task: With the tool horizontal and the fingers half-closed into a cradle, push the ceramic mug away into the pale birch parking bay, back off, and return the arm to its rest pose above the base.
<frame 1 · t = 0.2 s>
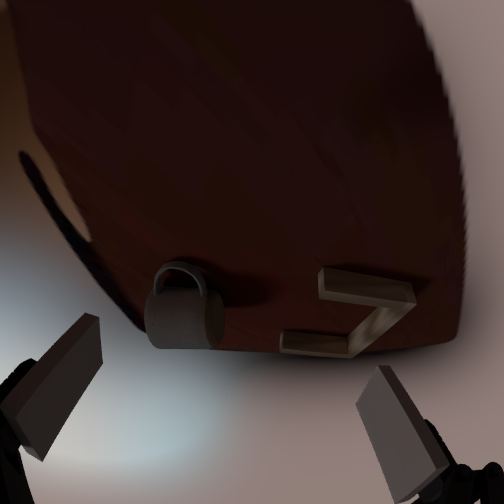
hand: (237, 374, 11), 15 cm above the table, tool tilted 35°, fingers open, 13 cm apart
bay: (340, 312, 35), on the table
ceramic mug: (187, 285, 34), on the table
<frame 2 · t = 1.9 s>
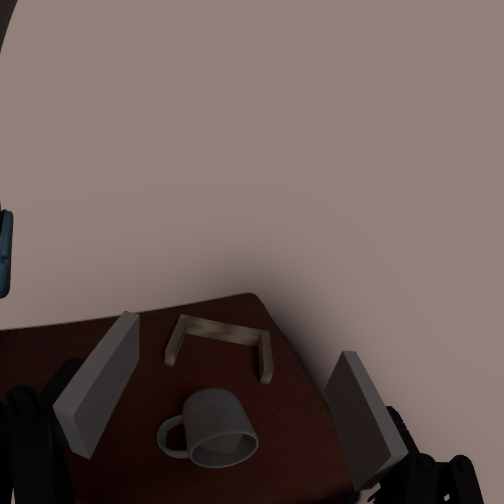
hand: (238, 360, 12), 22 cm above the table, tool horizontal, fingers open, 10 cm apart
bay: (219, 354, 47), on the table
ceramic mug: (202, 446, 27), on the table
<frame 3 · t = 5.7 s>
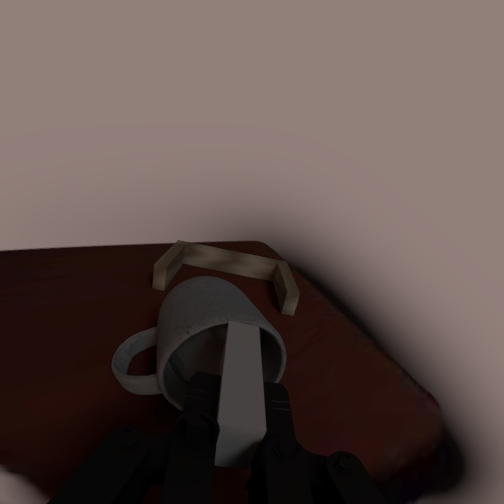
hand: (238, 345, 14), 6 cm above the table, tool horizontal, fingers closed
bay: (225, 283, 38), on the table
ceramic mug: (187, 383, 18), on the table, touching gripper
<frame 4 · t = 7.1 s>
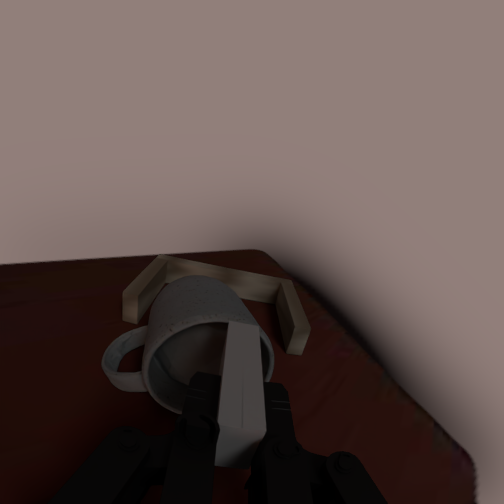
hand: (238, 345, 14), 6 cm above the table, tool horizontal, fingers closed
bay: (216, 310, 30), on the table
ceramic mug: (177, 382, 18), on the table, touching gripper
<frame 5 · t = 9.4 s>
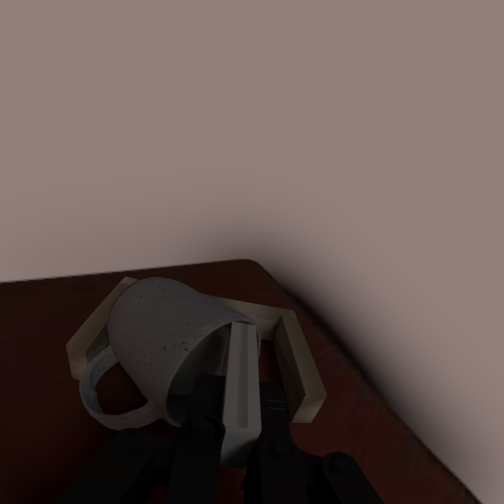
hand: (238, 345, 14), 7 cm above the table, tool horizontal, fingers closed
bay: (197, 357, 21), on the table
ceramic mug: (160, 396, 16), on the table, touching bay, gripper
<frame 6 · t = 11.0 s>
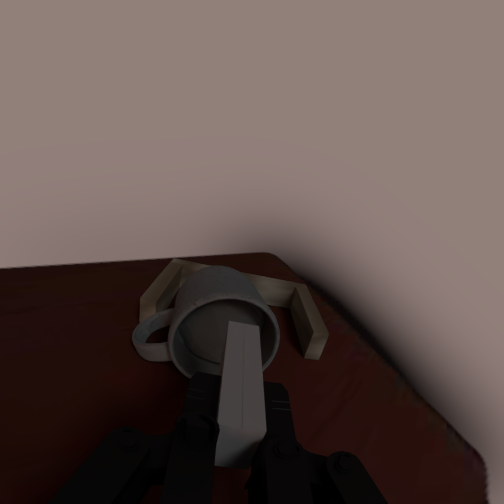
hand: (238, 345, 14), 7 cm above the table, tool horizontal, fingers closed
bay: (233, 315, 30), on the table
ceramic mug: (197, 358, 22), on the table
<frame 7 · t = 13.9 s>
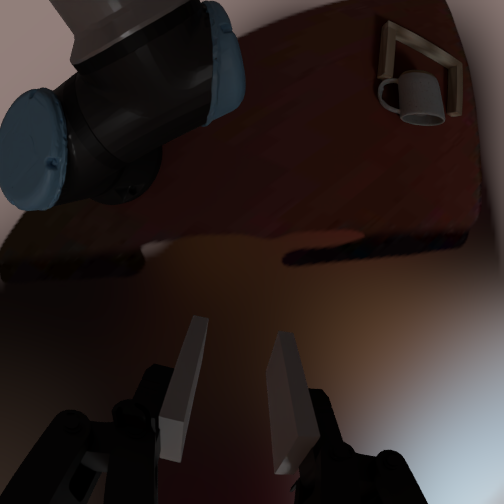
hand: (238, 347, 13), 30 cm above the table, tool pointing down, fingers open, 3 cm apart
bay: (420, 70, 34), on the table
ceramic mug: (402, 102, 37), on the table
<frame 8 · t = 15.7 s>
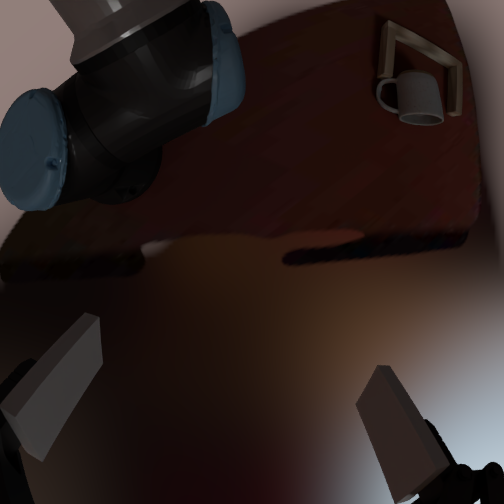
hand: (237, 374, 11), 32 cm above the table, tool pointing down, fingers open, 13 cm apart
bay: (419, 70, 34), on the table
ceramic mug: (401, 102, 37), on the table
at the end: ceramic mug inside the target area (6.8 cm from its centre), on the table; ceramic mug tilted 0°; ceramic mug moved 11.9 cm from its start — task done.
